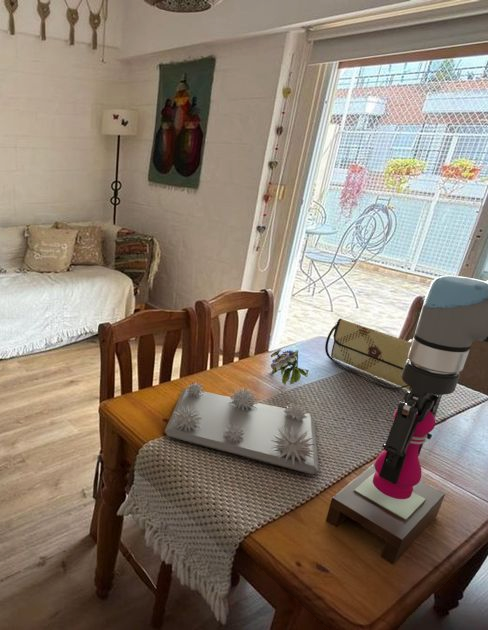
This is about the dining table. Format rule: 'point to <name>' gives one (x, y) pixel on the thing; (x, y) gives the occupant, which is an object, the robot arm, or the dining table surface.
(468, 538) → the dining table surface
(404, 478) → the pepper mill
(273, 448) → the decorative tray
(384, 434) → the dining table surface
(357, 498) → the shelf
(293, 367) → the passion flower
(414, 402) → the robot arm
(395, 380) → the clutch purse
